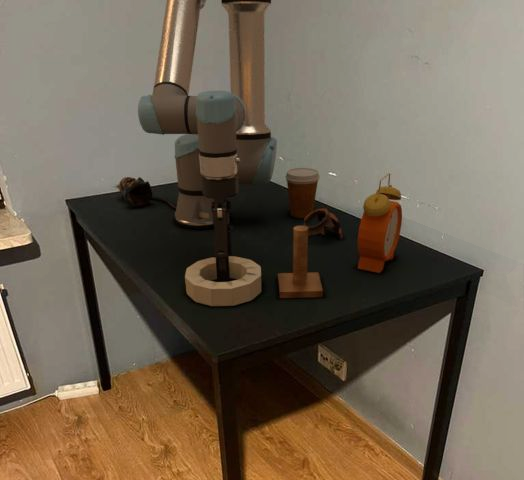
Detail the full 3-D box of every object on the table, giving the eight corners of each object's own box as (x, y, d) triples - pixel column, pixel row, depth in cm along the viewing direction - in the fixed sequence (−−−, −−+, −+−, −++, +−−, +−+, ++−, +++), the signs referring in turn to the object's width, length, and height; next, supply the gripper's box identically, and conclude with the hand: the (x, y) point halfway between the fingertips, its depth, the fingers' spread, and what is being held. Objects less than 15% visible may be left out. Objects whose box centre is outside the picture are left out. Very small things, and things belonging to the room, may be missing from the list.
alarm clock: (379, 276, 122) (390, 187, 111) (354, 271, 125) (361, 183, 114) (398, 255, 132) (409, 170, 121) (373, 250, 134) (382, 167, 124)
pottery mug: (345, 245, 139) (332, 220, 133) (312, 258, 142) (297, 235, 137) (344, 217, 147) (331, 193, 141) (312, 230, 150) (298, 207, 145)
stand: (279, 298, 114) (279, 236, 107) (277, 279, 122) (277, 220, 115) (322, 297, 114) (325, 235, 107) (318, 278, 122) (320, 219, 115)
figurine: (123, 192, 158) (109, 173, 168) (133, 216, 164) (119, 197, 174) (150, 180, 160) (134, 162, 170) (159, 204, 166) (144, 186, 176)
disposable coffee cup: (283, 209, 161) (283, 167, 154) (315, 208, 162) (316, 166, 155) (287, 220, 153) (287, 177, 146) (320, 219, 154) (322, 176, 147)
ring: (172, 295, 116) (170, 278, 114) (213, 267, 128) (212, 251, 126) (237, 312, 110) (236, 294, 107) (274, 281, 121) (274, 264, 119)
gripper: (236, 192, 101) (240, 295, 113) (238, 159, 122) (242, 249, 134) (196, 193, 101) (204, 296, 113) (205, 160, 122) (211, 249, 134)
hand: (224, 271), depth 123 cm, fingers open, 13 cm apart
